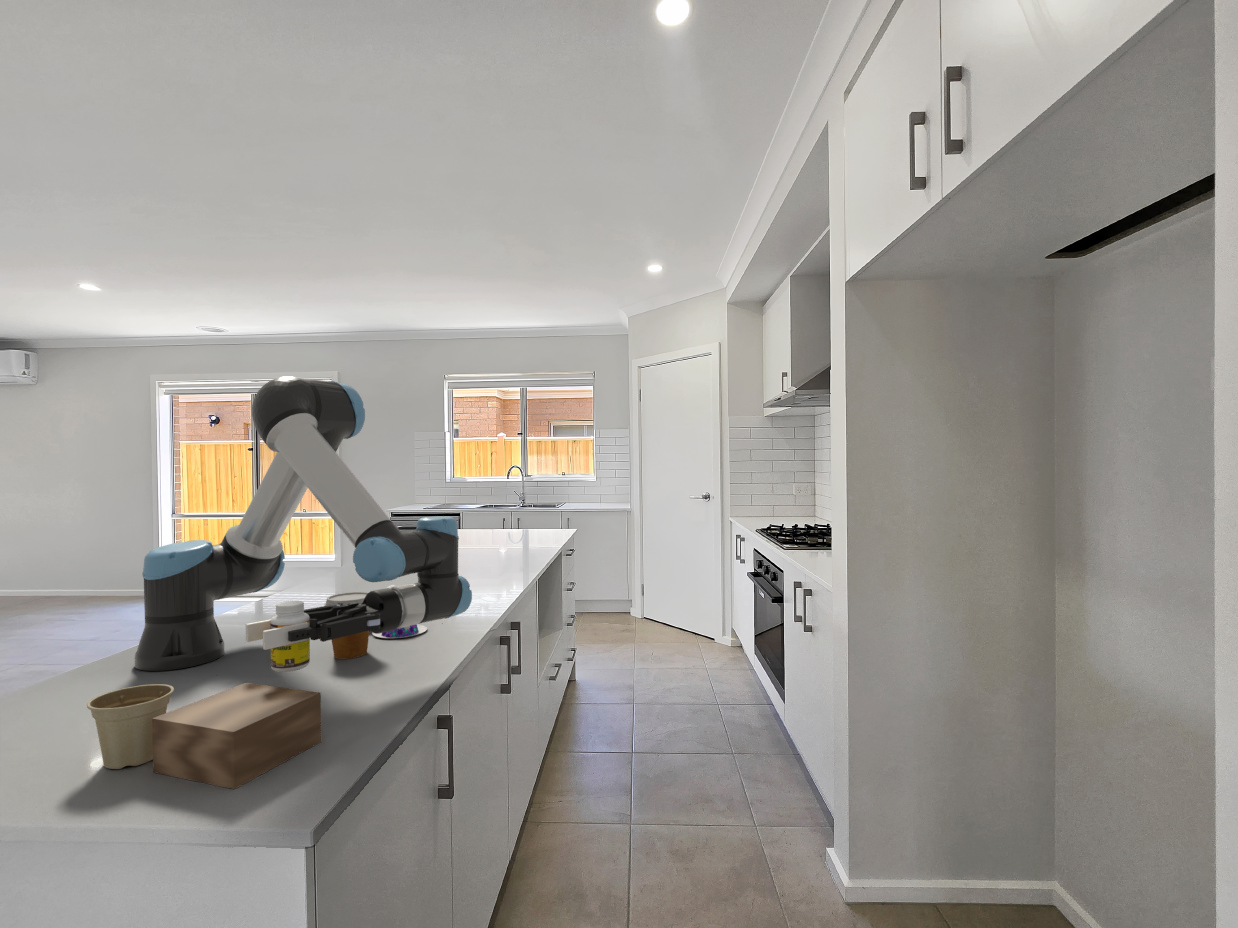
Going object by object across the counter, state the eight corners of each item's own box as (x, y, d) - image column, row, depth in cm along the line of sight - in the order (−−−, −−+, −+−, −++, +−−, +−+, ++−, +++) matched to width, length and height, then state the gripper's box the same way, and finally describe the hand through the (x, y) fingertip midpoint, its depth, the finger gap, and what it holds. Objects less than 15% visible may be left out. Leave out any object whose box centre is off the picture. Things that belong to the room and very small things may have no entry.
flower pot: (119, 745, 93) (118, 684, 93) (189, 742, 94) (188, 681, 94) (69, 777, 84) (68, 710, 84) (148, 773, 84) (146, 707, 84)
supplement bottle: (262, 671, 102) (261, 605, 102) (290, 660, 108) (289, 598, 107) (291, 674, 101) (290, 608, 100) (317, 663, 106) (317, 600, 106)
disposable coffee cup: (383, 647, 139) (382, 591, 139) (361, 661, 130) (360, 601, 130) (340, 647, 140) (339, 591, 140) (315, 661, 131) (314, 601, 131)
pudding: (424, 639, 147) (423, 615, 147) (367, 642, 144) (367, 619, 144) (429, 625, 158) (429, 604, 158) (377, 628, 156) (377, 606, 156)
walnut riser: (153, 772, 85) (152, 718, 85) (247, 729, 98) (246, 682, 98) (234, 788, 80) (233, 731, 80) (321, 741, 93) (320, 692, 93)
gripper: (422, 638, 112) (282, 674, 94) (365, 620, 124) (231, 649, 106) (422, 594, 112) (282, 621, 94) (365, 581, 124) (230, 603, 106)
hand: (255, 636), depth 100 cm, fingers closed on supplement bottle, 5 cm apart
